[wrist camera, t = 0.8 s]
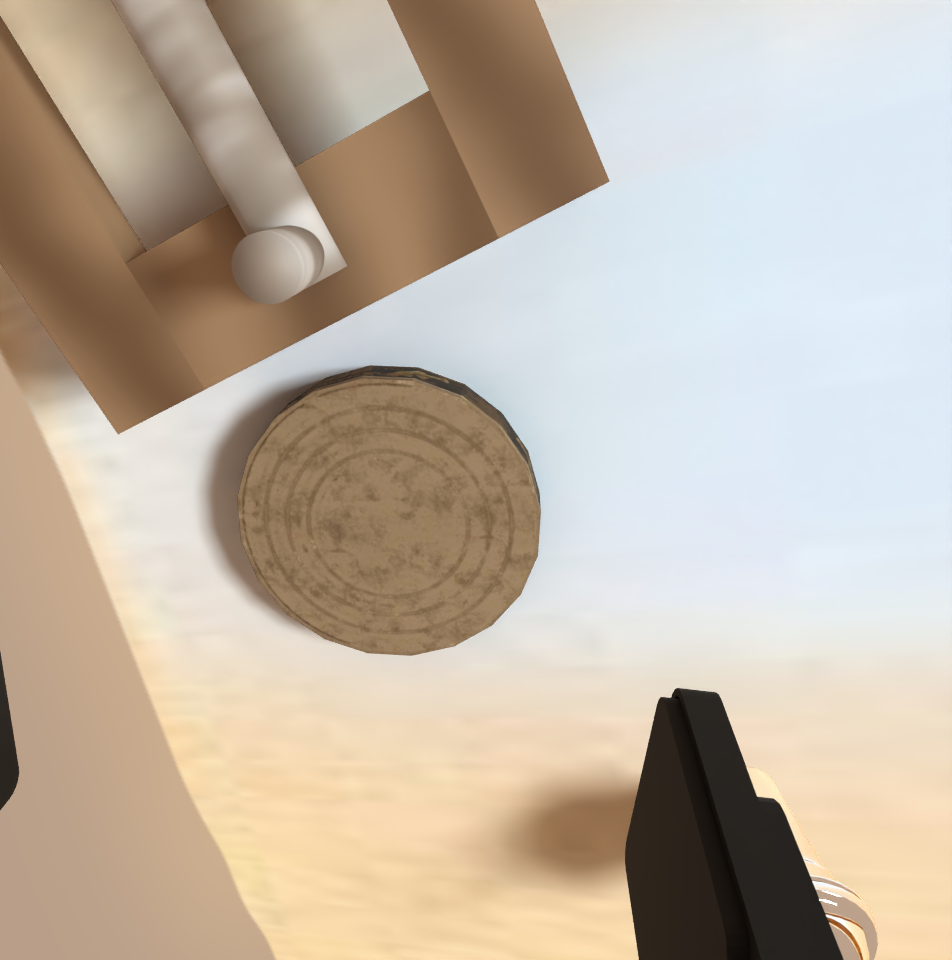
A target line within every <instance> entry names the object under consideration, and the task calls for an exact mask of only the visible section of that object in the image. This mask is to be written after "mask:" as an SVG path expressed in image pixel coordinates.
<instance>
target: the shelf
mask: <svg viewBox="0 0 952 960" xmlns="http://www.w3.org/2000/svg"><path fill="white" fill-rule="evenodd" d="M111 1H112V3H113V4H114V6H115V8H116V10H117V11H118V13H119V15H120V17H121V18H122V20H123V22H124V24H125V25H126V27H127V29H128V31H129V32H130V34H131V36H132V38H133V39H134V41H135V43H136V44H137V46H138V48H139V50H140V51H141V53H142V55H143V57H144V58H145V60H146V62H147V64H148V65H149V67H150V69H151V71H152V72H153V74H154V76H155V78H156V79H157V81H158V83H159V84H160V86H161V88H162V90H163V91H164V93H165V95H166V97H167V98H168V100H169V102H170V104H171V105H172V107H173V109H174V111H175V112H176V114H177V116H178V118H179V119H180V121H181V123H182V124H183V126H184V128H185V130H186V131H187V133H188V135H189V137H190V138H191V140H192V142H193V144H194V145H195V147H196V149H197V151H198V152H199V154H200V156H201V158H202V159H203V161H204V163H205V164H206V166H207V168H208V170H209V171H210V173H211V175H212V177H213V178H214V180H215V182H216V184H217V185H218V187H219V189H220V191H221V192H222V194H223V196H224V198H225V199H226V201H227V203H228V204H229V205H228V206H226V207H224V208H222V209H221V210H219V211H217V212H215V213H214V214H212V215H210V216H208V217H207V218H205V219H203V220H201V221H199V222H198V223H196V224H194V225H192V226H191V227H189V228H187V229H185V230H184V231H182V232H180V233H178V234H177V235H175V236H173V237H171V238H170V239H168V240H166V241H164V242H163V243H161V244H159V245H157V246H156V247H154V248H152V249H150V250H149V251H146V250H145V248H144V247H143V245H142V243H141V242H140V240H139V238H138V237H137V235H136V234H135V232H134V230H133V229H132V227H131V226H130V224H129V222H128V221H127V219H126V218H125V216H124V214H123V213H122V211H121V210H120V208H119V206H118V205H117V203H116V201H115V200H114V198H113V197H112V195H111V193H110V192H109V190H108V189H107V187H106V185H105V184H104V182H103V181H102V179H101V177H100V176H99V174H98V172H97V171H96V169H95V168H94V166H93V164H92V163H91V161H90V160H89V158H88V156H87V155H86V153H85V152H84V150H83V148H82V147H81V145H80V144H79V142H78V140H77V139H76V137H75V135H74V134H73V132H72V131H71V129H70V127H69V126H68V124H67V123H66V121H65V119H64V118H63V116H62V115H61V113H60V111H59V110H58V108H57V106H56V105H55V103H54V102H53V100H52V98H51V97H50V95H49V94H48V92H47V90H46V89H45V87H44V86H43V84H42V82H41V81H40V79H39V78H38V76H37V74H36V73H35V71H34V69H33V68H32V66H31V65H30V63H29V61H28V60H27V58H26V57H25V55H24V53H23V52H22V50H21V49H20V47H19V45H18V44H17V42H16V40H15V39H14V37H13V36H12V34H11V32H10V31H9V29H8V28H7V26H6V24H5V23H4V21H3V20H2V18H1V16H0V263H1V265H2V266H3V268H4V269H5V270H6V272H7V273H8V275H9V276H10V278H11V279H12V281H13V282H14V284H15V285H16V286H17V288H18V289H19V291H20V292H21V294H22V295H23V297H24V298H25V300H26V301H27V302H28V304H29V305H30V307H31V308H32V310H33V311H34V313H35V314H36V316H37V317H38V318H39V320H40V321H41V323H42V324H43V326H44V327H45V329H46V330H47V332H48V333H49V334H50V336H51V337H52V339H53V340H54V342H55V343H56V345H57V346H58V348H59V349H60V351H61V352H62V353H63V355H64V356H65V358H66V359H67V361H68V362H69V364H70V365H71V367H72V368H73V369H74V371H75V372H76V374H77V375H78V377H79V378H80V380H81V381H82V383H83V384H84V385H85V387H86V388H87V390H88V391H89V393H90V394H91V396H92V397H93V399H94V400H95V401H96V403H97V404H98V406H99V407H100V409H101V410H102V412H103V413H104V415H105V416H106V417H107V419H108V420H109V422H110V423H111V425H112V426H113V428H114V429H115V431H116V432H117V433H118V434H120V433H122V432H123V431H125V430H127V429H129V428H131V427H133V426H135V425H137V424H139V423H141V422H143V421H145V420H147V419H149V418H151V417H153V416H155V415H157V414H158V413H160V412H162V411H164V410H166V409H168V408H170V407H172V406H174V405H176V404H178V403H180V402H182V401H184V400H186V399H188V398H190V397H192V396H193V395H195V394H197V393H199V392H201V391H203V390H205V389H207V388H209V387H211V386H213V385H215V384H217V383H219V382H221V381H223V380H225V379H226V378H228V377H230V376H232V375H234V374H236V373H238V372H240V371H242V370H244V369H246V368H248V367H250V366H252V365H254V364H256V363H258V362H260V361H261V360H263V359H265V358H267V357H269V356H271V355H273V354H275V353H277V352H279V351H281V350H283V349H285V348H287V347H289V346H291V345H293V344H295V343H296V342H298V341H300V340H302V339H304V338H306V337H308V336H310V335H312V334H314V333H316V332H318V331H320V330H322V329H324V328H326V327H328V326H329V325H331V324H333V323H335V322H337V321H339V320H341V319H343V318H345V317H347V316H349V315H351V314H353V313H355V312H357V311H359V310H361V309H363V308H364V307H366V306H368V305H370V304H372V303H374V302H376V301H378V300H380V299H382V298H384V297H386V296H388V295H390V294H392V293H394V292H396V291H398V290H399V289H401V288H403V287H405V286H407V285H409V284H411V283H413V282H415V281H417V280H419V279H421V278H423V277H425V276H427V275H429V274H431V273H433V272H434V271H436V270H438V269H440V268H442V267H444V266H446V265H448V264H450V263H452V262H454V261H456V260H458V259H460V258H462V257H464V256H466V255H467V254H469V253H471V252H473V251H475V250H477V249H479V248H481V247H483V246H485V245H487V244H489V243H491V242H493V241H495V240H497V239H499V238H501V237H502V236H504V235H506V234H508V233H510V232H512V231H514V230H516V229H518V228H520V227H522V226H524V225H526V224H528V223H530V222H532V221H534V220H536V219H537V218H539V217H541V216H543V215H545V214H547V213H549V212H551V211H553V210H555V209H557V208H559V207H561V206H563V205H565V204H567V203H569V202H570V201H572V200H574V199H576V198H578V197H580V196H582V195H584V194H586V193H588V192H590V191H592V190H594V189H596V188H598V187H600V186H602V185H604V184H605V183H607V182H609V179H608V177H607V174H606V172H605V169H604V167H603V164H602V162H601V160H600V157H599V155H598V152H597V150H596V147H595V145H594V143H593V140H592V138H591V135H590V133H589V130H588V128H587V126H586V123H585V121H584V118H583V116H582V113H581V111H580V109H579V106H578V104H577V101H576V99H575V96H574V94H573V92H572V89H571V87H570V84H569V82H568V79H567V77H566V75H565V72H564V70H563V67H562V65H561V62H560V60H559V58H558V55H557V53H556V50H555V48H554V46H553V43H552V41H551V38H550V36H549V33H548V31H547V29H546V26H545V24H544V21H543V19H542V16H541V14H540V12H539V9H538V7H537V4H536V2H535V0H387V1H388V3H389V5H390V7H391V9H392V11H393V13H394V16H395V18H396V20H397V22H398V24H399V26H400V28H401V31H402V33H403V35H404V37H405V39H406V41H407V43H408V45H409V48H410V50H411V52H412V54H413V56H414V58H415V60H416V63H417V65H418V67H419V69H420V71H421V73H422V75H423V77H424V80H425V82H426V84H427V86H428V88H429V90H430V91H428V92H426V93H424V94H423V95H421V96H419V97H417V98H416V99H414V100H412V101H410V102H409V103H407V104H405V105H403V106H401V107H400V108H398V109H396V110H394V111H393V112H391V113H389V114H387V115H386V116H384V117H382V118H380V119H379V120H377V121H375V122H373V123H372V124H370V125H368V126H366V127H365V128H363V129H361V130H359V131H358V132H356V133H354V134H352V135H351V136H349V137H347V138H345V139H344V140H342V141H340V142H338V143H337V144H335V145H333V146H331V147H329V148H328V149H326V150H324V151H322V152H321V153H319V154H317V155H315V156H314V157H312V158H310V159H308V160H307V161H305V162H303V163H301V164H300V165H298V166H296V167H294V166H293V164H292V162H291V160H290V158H289V157H288V155H287V153H286V151H285V149H284V147H283V145H282V144H281V142H280V140H279V138H278V136H277V134H276V132H275V131H274V129H273V127H272V125H271V123H270V121H269V120H268V118H267V116H266V114H265V112H264V110H263V108H262V107H261V105H260V103H259V101H258V99H257V97H256V95H255V94H254V92H253V90H252V88H251V86H250V84H249V82H248V81H247V79H246V77H245V75H244V73H243V71H242V69H241V68H240V66H239V64H238V62H237V60H236V58H235V56H234V55H233V53H232V51H231V49H230V47H229V45H228V43H227V42H226V40H225V38H224V36H223V34H222V32H221V30H220V29H219V27H218V25H217V23H216V21H215V19H214V17H213V16H212V14H211V12H210V10H209V8H208V6H207V5H206V3H205V1H204V0H111Z"/></svg>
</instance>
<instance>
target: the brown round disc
mask: <svg viewBox="0 0 952 960" xmlns="http://www.w3.org/2000/svg"><path fill="white" fill-rule="evenodd" d="M237 500H238V511H239V523H240V534H241V542H242V544H243V546H244V548H245V551H246V553H247V555H248V558H249V560H250V562H251V564H252V567H253V569H254V571H255V574H256V576H257V578H258V581H259V582H260V583H261V584H262V585H263V586H264V588H265V589H266V590H267V591H268V592H269V593H270V595H271V596H272V597H273V598H274V599H275V600H276V602H277V603H278V604H279V605H280V606H281V607H282V609H283V610H284V611H285V612H286V613H287V614H288V615H289V616H291V617H292V618H294V619H295V620H297V621H298V622H300V623H301V624H303V625H304V626H306V627H307V628H309V629H310V630H312V631H313V632H315V633H316V634H318V635H320V636H321V637H323V638H324V639H326V640H329V641H332V642H335V643H338V644H341V645H344V646H347V647H350V648H354V649H357V650H360V651H363V652H366V653H375V654H393V655H410V656H412V655H417V654H421V653H426V652H430V651H435V650H439V649H444V648H449V647H453V646H456V645H457V644H459V643H461V642H463V641H465V640H466V639H468V638H470V637H472V636H474V635H476V634H477V633H479V632H481V631H483V630H485V629H486V628H488V627H490V626H492V625H493V624H494V623H495V622H496V620H497V619H498V618H499V617H500V616H501V615H502V614H503V613H504V612H505V611H506V610H507V609H508V608H509V607H510V605H511V604H512V603H513V602H514V601H515V600H516V599H517V598H518V597H519V596H520V595H521V593H522V590H523V588H524V586H525V584H526V581H527V579H528V577H529V574H530V572H531V570H532V568H533V565H534V563H535V561H536V559H537V556H538V544H539V530H540V515H541V509H540V494H539V489H538V485H537V482H536V478H535V475H534V471H533V468H532V464H531V460H530V457H529V453H528V450H527V449H526V447H525V446H524V444H523V443H522V441H521V440H520V439H519V437H518V436H517V434H516V433H515V431H514V430H513V428H512V427H511V425H510V424H509V423H508V421H507V420H506V418H505V417H504V415H503V414H502V413H501V412H500V411H499V410H497V409H496V408H495V407H493V406H492V405H491V404H490V403H488V402H487V401H486V400H484V399H483V398H482V397H480V396H479V395H478V394H477V393H475V392H474V391H473V390H471V389H470V388H469V387H467V386H466V385H465V384H463V383H460V382H457V381H454V380H452V379H449V378H446V377H443V376H441V375H438V374H435V373H432V372H430V371H427V370H424V369H421V368H418V367H395V366H372V365H371V366H367V367H364V368H360V369H356V370H353V371H349V372H346V373H342V374H338V375H335V376H331V377H328V378H325V379H324V380H322V381H321V382H319V383H318V384H316V385H315V386H314V387H312V388H311V389H309V390H308V391H306V392H305V393H303V394H302V395H301V396H299V397H298V398H296V399H295V400H293V401H292V402H290V403H289V404H288V405H287V406H286V407H285V408H284V409H283V410H282V411H281V412H280V413H279V414H278V415H277V416H276V417H275V419H274V420H273V421H272V423H271V424H270V426H269V427H268V428H267V430H266V431H265V433H264V434H263V435H262V437H261V438H260V440H259V441H258V442H257V444H256V445H255V447H254V448H253V450H252V451H251V452H250V454H249V455H248V459H247V463H246V466H245V470H244V474H243V478H242V481H241V485H240V489H239V493H238V496H237Z"/></svg>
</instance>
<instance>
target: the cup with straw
mask: <svg viewBox="0 0 952 960" xmlns="http://www.w3.org/2000/svg"><path fill="white" fill-rule="evenodd" d="M746 768H747V770H748V773H749V776H750V779H751V781H752V784H753V787H754V789H755V792H756V795H757V797H765V798H774V799H775V800H776V801H777V802H778V803H780V805H781V807H782V809H783V811H784V813H785V815H786V817H787V820H788V822H789V825H790V827H791V830H792V832H793V835H794V837H795V840H796V842H797V845H798V847H799V850H800V852H801V855H802V857H803V860H804V862H805V864H806V867H807V869H808V872H809V874H810V877H811V879H812V882H813V884H814V887H815V889H816V892H817V894H818V897H819V899H820V902H821V904H822V907H823V909H824V912H825V914H826V917H827V919H828V922H829V924H830V927H831V929H832V932H833V934H834V936H835V939H836V941H837V944H838V946H839V949H840V951H841V954H842V956H843V959H844V960H873V959H874V958H875V955H876V950H877V946H878V937H877V931H876V928H875V920H874V917H873V915H872V912H871V909H870V908H869V906H868V905H867V904H866V902H865V901H864V899H863V898H862V897H860V896H859V895H858V894H857V893H856V892H855V891H853V890H852V889H851V888H849V887H847V886H845V885H844V884H842V883H840V882H838V881H837V880H836V879H835V878H834V877H833V876H832V874H831V873H830V871H829V870H828V868H827V867H826V866H825V865H824V864H823V863H822V862H821V860H820V859H819V857H818V855H817V854H816V852H815V850H814V848H813V847H812V845H811V843H810V842H809V840H808V838H807V837H806V835H805V833H804V832H803V830H802V828H801V826H800V825H799V823H798V821H797V820H796V818H795V816H794V815H793V813H792V811H791V809H790V808H789V806H788V804H787V803H786V801H785V799H784V798H783V796H782V795H781V793H780V792H779V790H777V787H776V785H775V782H774V781H773V780H772V778H771V777H770V776H769V775H768V774H766V773H765V772H763V771H761V770H758V769H756V768H751V767H746Z"/></svg>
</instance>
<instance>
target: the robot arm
mask: <svg viewBox="0 0 952 960" xmlns="http://www.w3.org/2000/svg"><path fill="white" fill-rule="evenodd" d="M18 777H19V766H18V761H17V754H16V747H15V741H14V735H13V729H12V722H11V716H10V710H9V703H8V697H7V691H6V685H5V678H4V672H3V666H2V660H1V653H0V810H1V809H2V807H3V806H4V805H5V804H6V802H7V801H8V800H9V799H10V797H11V795H12V794H13V792H14V790H15V788H16V785H17V781H18ZM625 865H626V874H627V881H628V888H629V894H630V901H631V908H632V915H633V922H634V929H635V935H636V942H637V949H638V956H639V960H844V959H843V956H842V954H841V951H840V949H839V946H838V944H837V941H836V939H835V936H834V934H833V932H832V929H831V927H830V924H829V922H828V919H827V917H826V914H825V912H824V909H823V907H822V904H821V902H820V899H819V897H818V894H817V892H816V889H815V887H814V884H813V882H812V879H811V877H810V874H809V872H808V869H807V867H806V864H805V862H804V860H803V857H802V855H801V852H800V850H799V847H798V845H797V842H796V840H795V837H794V835H793V832H792V830H791V827H790V825H789V822H788V820H787V817H786V815H785V813H784V811H783V809H782V807H781V805H780V803H778V802H777V801H776V800H775V799H774V798H765V797H757V795H756V792H755V789H754V787H753V784H752V781H751V779H750V776H749V773H748V770H747V768H746V765H745V762H744V760H743V757H742V754H741V752H740V749H739V746H738V743H737V741H736V738H735V735H734V733H733V730H732V727H731V724H730V722H729V719H728V716H727V714H726V711H725V708H724V706H723V703H722V700H721V698H720V696H719V694H717V693H716V692H707V691H698V690H689V689H681V688H677V689H675V690H674V692H673V694H672V697H671V698H665V697H661V698H660V699H659V701H658V704H657V708H656V712H655V716H654V721H653V725H652V730H651V734H650V739H649V743H648V747H647V752H646V756H645V761H644V765H643V770H642V774H641V778H640V783H639V787H638V792H637V796H636V801H635V805H634V809H633V814H632V818H631V823H630V827H629V832H628V836H627V841H626V850H625Z"/></svg>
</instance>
